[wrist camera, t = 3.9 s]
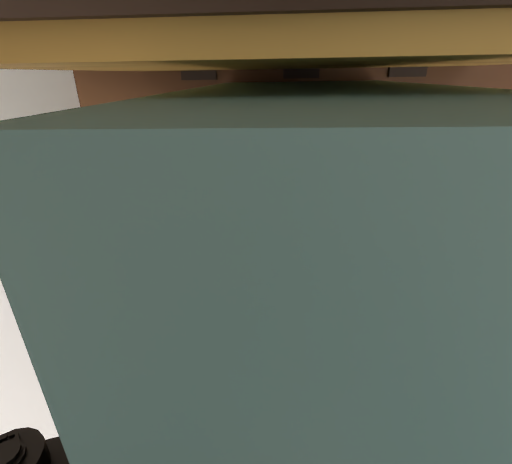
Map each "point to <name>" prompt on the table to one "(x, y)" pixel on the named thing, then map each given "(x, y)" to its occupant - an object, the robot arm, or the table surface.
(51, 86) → the table surface
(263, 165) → the stub
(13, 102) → the table surface
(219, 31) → the board
